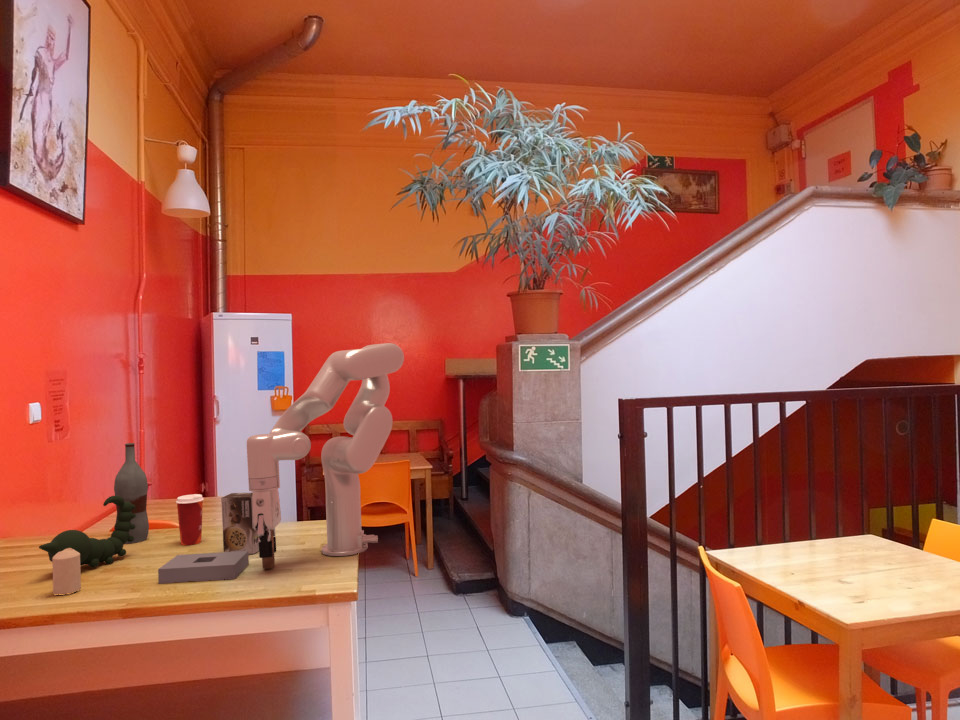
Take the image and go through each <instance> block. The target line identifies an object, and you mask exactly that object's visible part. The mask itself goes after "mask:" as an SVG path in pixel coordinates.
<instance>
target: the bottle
mask: <svg viewBox="0 0 960 720" xmlns="http://www.w3.org/2000/svg"><path fill="white" fill-rule="evenodd" d="M124 447H125V450H124V452H125V453H124V455H125V458H124V459H125V460H124V463H123V464H122V466H121V467H120V469H119V471H118V472H117V474H116V475H115V479H114V485H113V490H114V491H113V492H114V496H115V495H118V496H121V497H123V499H124V502H125V501H128V502H130V503H132V505H135V508H134V509H132V511H131V512H132V513H134V514H135V515H136V517H135V518H133V519H131V521H130V522H131V524H134V525H135V529H130V531H129V534H130V536H133V537H134V540H133V541H132V542H128V541H127V542H126V543H125V544H124V545H130V544H137V543H142V542H145V541H147V540H148V537H149V531H150V529H149V528H150V524H149V523H150V522H149V517H148V512H147V506H148V505H147V503H148V501H147V500H148V499H147V498H148V488H149V485H148V478H147V474H146V473H145V471H144V469H143V468H142V467H141V466H140V464H138V462H137V460H136V450H135V449H136V447H135V443H134V442H128V443H127V442H126V443H125V444H124ZM115 508H116V515H117V514H118V512H119V506H117V505H115ZM117 521H118V520H117V516H116V519H115V523H116V522H117Z"/></svg>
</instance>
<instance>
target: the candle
mask: <svg viewBox="0 0 960 720" xmlns="http://www.w3.org/2000/svg"><path fill="white" fill-rule="evenodd" d="M51 563H52V591H53V592H52V594H53V595H54V594H58V595H59V594H67V593H72V592H75V591H78V590H80V589H82V581H81V580H82V575H81V574H82V573H81V566H80V553H79V552H77V551H75V550H74V549H72V548H67V549H64V550H63V551H61V552H58V553H57V554H56V555H55V556H54V557H53V558H52V561H51ZM80 591H81V590H80ZM78 592H79V591H78Z"/></svg>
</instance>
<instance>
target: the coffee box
mask: <svg viewBox="0 0 960 720" xmlns="http://www.w3.org/2000/svg"><path fill="white" fill-rule="evenodd" d="M252 498H253V492H231V493H229V494H227V495H225V496H223V497H221V498H220V501H221V520H222V522H221V523H222V524H221V525H222V542H223V543H222V544H223V549H222V550H223V552H237V551H248V555H254V554H256V553H259V541H258V535H257V533H258V531H256V530H254V527H253V510H252Z"/></svg>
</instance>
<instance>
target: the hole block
mask: <svg viewBox="0 0 960 720" xmlns="http://www.w3.org/2000/svg"><path fill="white" fill-rule="evenodd" d="M249 562H250V561H249V554H248V551H237V552H224V551H223V552H207V553H205V552H203V553H189V554H188V553H185V554H176V556H173V558H171V559H170V560H169V561H167V562H166V563H164V564H163V565H161V567H159V568H158V569H157V571H158V574H157V575H158V577H157V578H158V584H175V583H174V582H178V583H189V582H188V581H195V582H207V581H209V580H211V581H223V580H224V579H225V580H227V581H228V580H236V579H237V577H238V576H239V575H240V574H241V573H242V572H243V571H244V570H245V569H246V568H247V567H248V566H249Z"/></svg>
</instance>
